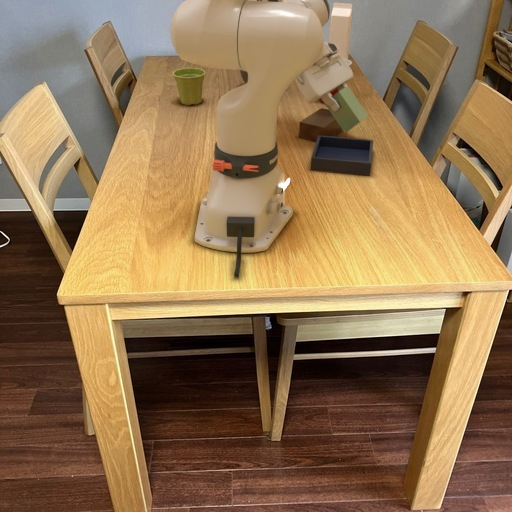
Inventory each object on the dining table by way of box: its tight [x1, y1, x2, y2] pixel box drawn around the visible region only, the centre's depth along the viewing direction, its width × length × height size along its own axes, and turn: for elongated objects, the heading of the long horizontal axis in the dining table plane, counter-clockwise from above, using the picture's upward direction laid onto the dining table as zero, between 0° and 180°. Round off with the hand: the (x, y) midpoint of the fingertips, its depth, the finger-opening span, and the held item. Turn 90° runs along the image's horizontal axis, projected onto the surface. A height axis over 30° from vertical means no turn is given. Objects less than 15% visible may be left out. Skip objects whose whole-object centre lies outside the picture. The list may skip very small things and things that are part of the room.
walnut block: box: [298, 107, 343, 143], centre depth 143 cm, size 7×12×4 cm, turn 147°
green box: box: [323, 85, 369, 134], centre depth 137 cm, size 10×5×10 cm, turn 57°
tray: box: [309, 135, 374, 177], centre depth 130 cm, size 13×13×3 cm
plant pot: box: [172, 67, 206, 106], centre depth 161 cm, size 9×9×9 cm
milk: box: [328, 2, 353, 60], centre depth 181 cm, size 6×6×22 cm
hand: (344, 105), depth 137 cm, fingers closed on green box, 5 cm apart
